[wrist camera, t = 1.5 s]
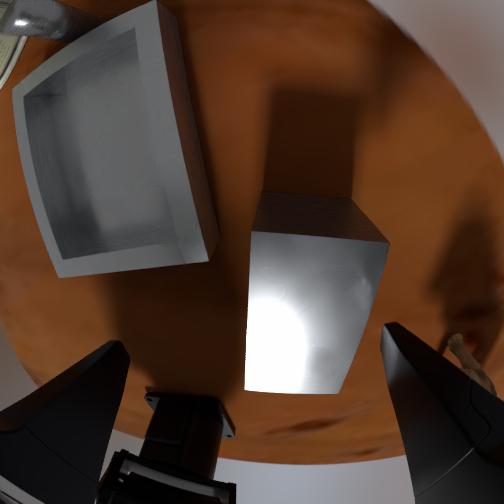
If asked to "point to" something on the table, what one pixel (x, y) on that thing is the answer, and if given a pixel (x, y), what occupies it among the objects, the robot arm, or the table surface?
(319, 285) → the block
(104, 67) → the keeper cradle
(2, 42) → the coffee can
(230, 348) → the table surface
